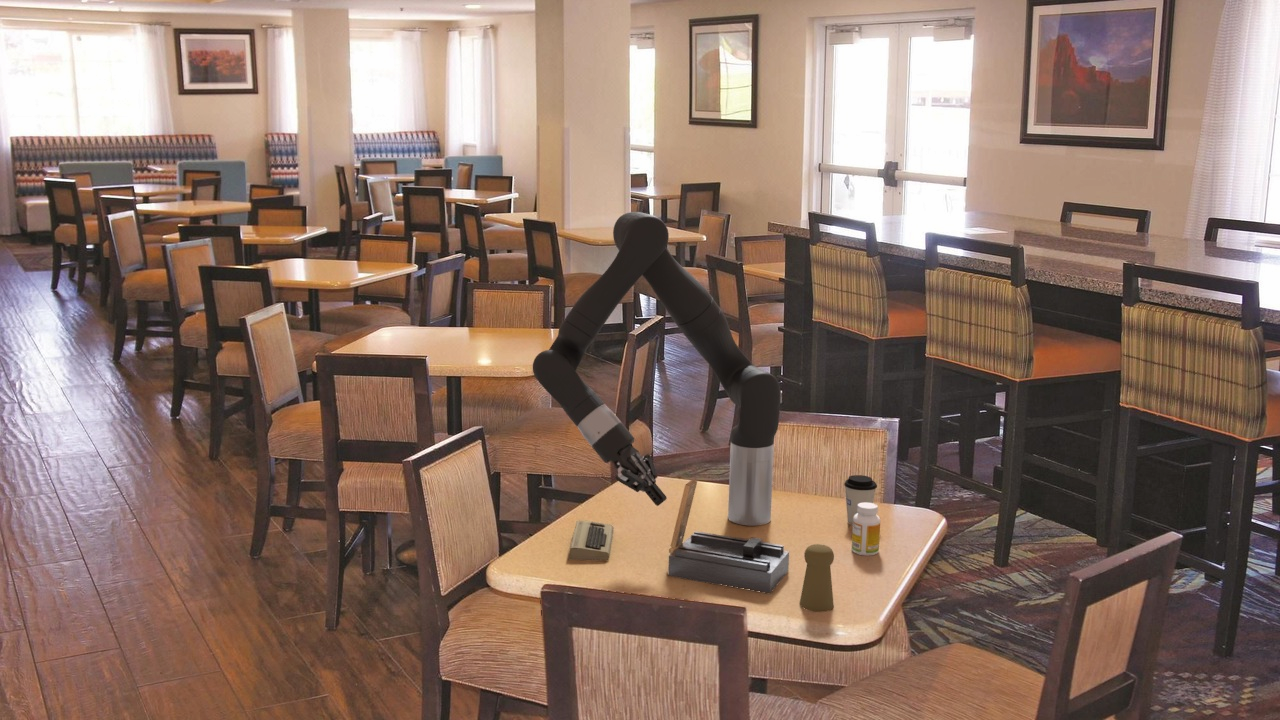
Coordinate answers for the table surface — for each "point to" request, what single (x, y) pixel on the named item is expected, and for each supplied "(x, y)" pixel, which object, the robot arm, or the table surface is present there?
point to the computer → (591, 541)
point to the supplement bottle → (866, 529)
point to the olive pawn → (817, 579)
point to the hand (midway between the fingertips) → (662, 502)
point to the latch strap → (683, 515)
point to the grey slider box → (730, 561)
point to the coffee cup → (858, 493)
